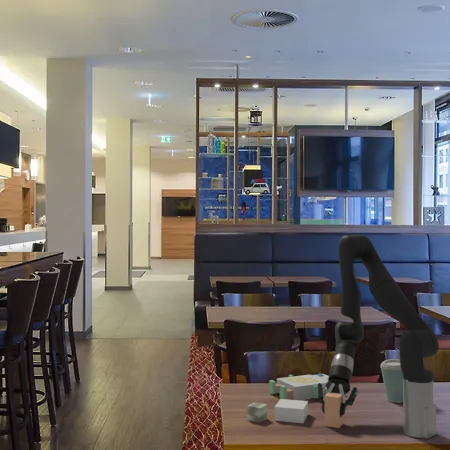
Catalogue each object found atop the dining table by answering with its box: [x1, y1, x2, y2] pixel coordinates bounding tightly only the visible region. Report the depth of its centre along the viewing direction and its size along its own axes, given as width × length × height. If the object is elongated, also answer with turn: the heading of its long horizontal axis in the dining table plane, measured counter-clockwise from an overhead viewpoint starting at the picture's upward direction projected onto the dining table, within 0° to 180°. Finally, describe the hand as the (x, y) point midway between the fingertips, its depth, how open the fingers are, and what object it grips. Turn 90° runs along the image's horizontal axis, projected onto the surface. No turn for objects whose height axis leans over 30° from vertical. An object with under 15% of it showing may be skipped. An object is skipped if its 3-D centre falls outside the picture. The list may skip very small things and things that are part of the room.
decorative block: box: [268, 373, 329, 401], centre depth 231 cm, size 26×6×20 cm
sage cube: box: [246, 402, 268, 423], centre depth 199 cm, size 5×5×5 cm
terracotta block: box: [324, 393, 344, 429], centre depth 193 cm, size 5×5×10 cm
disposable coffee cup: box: [380, 358, 403, 404], centre depth 221 cm, size 11×11×15 cm
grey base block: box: [273, 398, 309, 424], centre depth 201 cm, size 10×10×5 cm
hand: (332, 413), depth 192 cm, fingers closed on terracotta block, 5 cm apart
